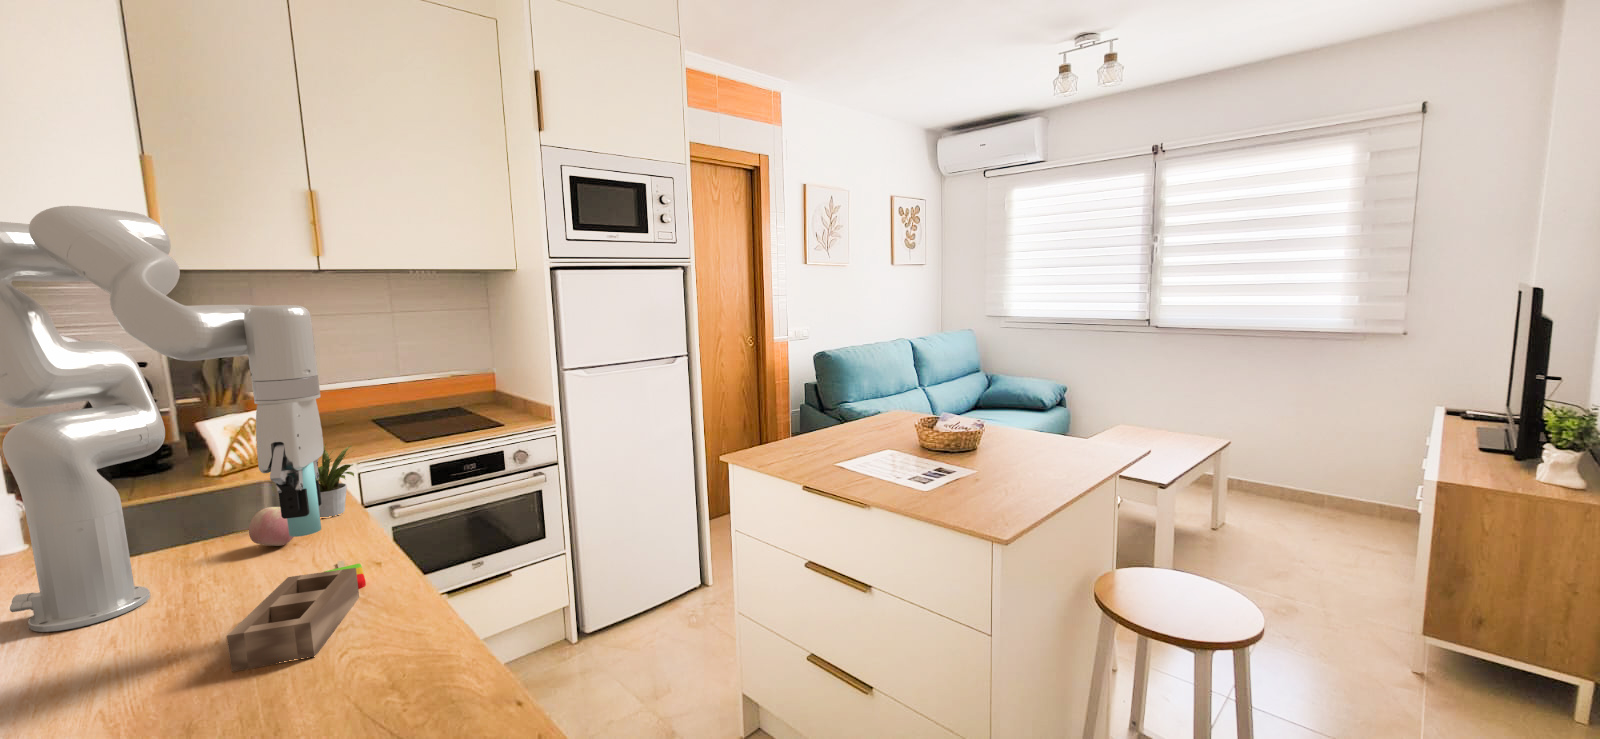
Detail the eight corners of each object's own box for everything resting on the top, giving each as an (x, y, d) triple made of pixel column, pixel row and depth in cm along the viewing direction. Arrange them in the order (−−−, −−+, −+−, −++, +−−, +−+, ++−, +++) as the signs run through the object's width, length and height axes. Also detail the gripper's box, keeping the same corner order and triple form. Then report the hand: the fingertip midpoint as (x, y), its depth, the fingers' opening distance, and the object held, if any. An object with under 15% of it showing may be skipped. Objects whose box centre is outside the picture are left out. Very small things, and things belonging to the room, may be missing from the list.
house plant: (279, 533, 130) (269, 456, 128) (284, 515, 141) (275, 444, 139) (363, 517, 138) (355, 445, 136) (361, 501, 149) (354, 434, 148)
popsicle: (325, 601, 101) (324, 589, 101) (322, 570, 113) (321, 560, 113) (366, 590, 105) (365, 579, 105) (359, 562, 117) (358, 552, 116)
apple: (293, 551, 121) (288, 511, 120) (243, 557, 118) (238, 516, 117) (309, 536, 128) (304, 498, 127) (263, 542, 126) (258, 503, 125)
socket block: (231, 671, 81) (226, 635, 81) (292, 607, 98) (288, 577, 98) (314, 657, 84) (310, 622, 84) (359, 597, 101) (355, 567, 101)
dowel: (284, 538, 92) (274, 464, 90) (295, 529, 95) (286, 458, 94) (315, 534, 93) (306, 461, 91) (325, 525, 96) (316, 455, 95)
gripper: (281, 384, 98) (296, 498, 100) (224, 401, 82) (243, 535, 85) (338, 381, 100) (351, 492, 103) (293, 396, 85) (309, 527, 87)
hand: (302, 510), depth 94 cm, fingers closed on dowel, 3 cm apart
